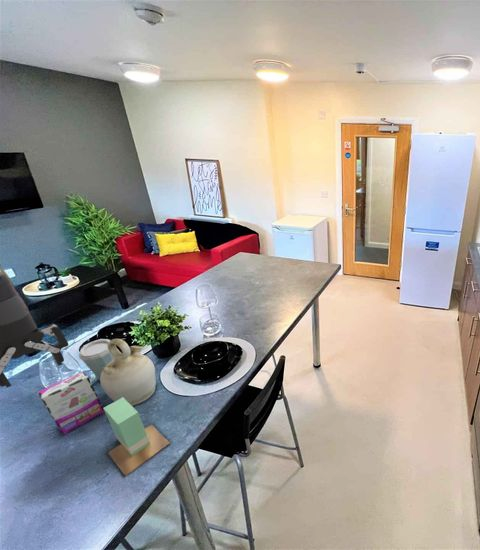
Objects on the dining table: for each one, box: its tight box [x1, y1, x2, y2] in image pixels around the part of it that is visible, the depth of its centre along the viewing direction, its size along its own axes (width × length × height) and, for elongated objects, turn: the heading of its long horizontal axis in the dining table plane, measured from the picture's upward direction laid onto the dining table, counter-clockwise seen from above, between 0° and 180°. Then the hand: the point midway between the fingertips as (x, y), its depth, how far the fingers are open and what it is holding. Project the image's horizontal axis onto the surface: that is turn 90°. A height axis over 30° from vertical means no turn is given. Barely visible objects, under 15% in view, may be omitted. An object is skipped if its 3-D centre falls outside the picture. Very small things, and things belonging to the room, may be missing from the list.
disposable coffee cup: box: [78, 338, 115, 381], centre depth 113 cm, size 11×11×15 cm
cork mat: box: [107, 424, 171, 477], centre depth 90 cm, size 12×12×1 cm
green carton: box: [103, 397, 150, 456], centre depth 89 cm, size 5×14×10 cm
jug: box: [99, 338, 157, 407], centre depth 104 cm, size 15×16×25 cm
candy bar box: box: [37, 370, 105, 436], centre depth 95 cm, size 11×5×16 cm, turn 147°
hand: (34, 374), depth 69 cm, fingers open, 8 cm apart
